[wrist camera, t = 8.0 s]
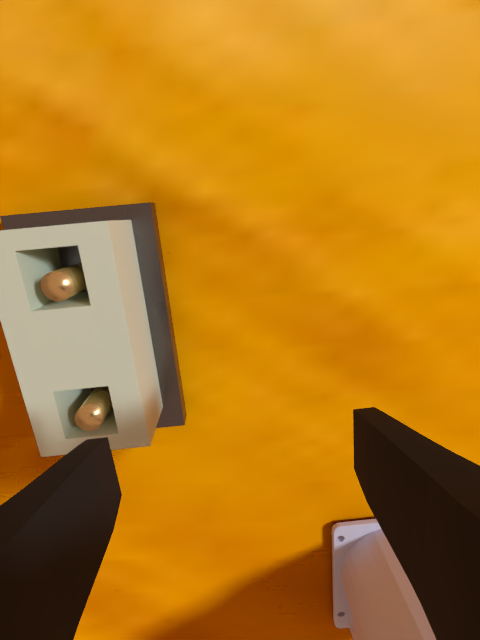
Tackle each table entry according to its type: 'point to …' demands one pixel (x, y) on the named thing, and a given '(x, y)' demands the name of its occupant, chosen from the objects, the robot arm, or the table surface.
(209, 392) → the table surface
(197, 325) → the table surface
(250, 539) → the table surface
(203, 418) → the table surface
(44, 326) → the hollow breeze brick
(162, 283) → the base
